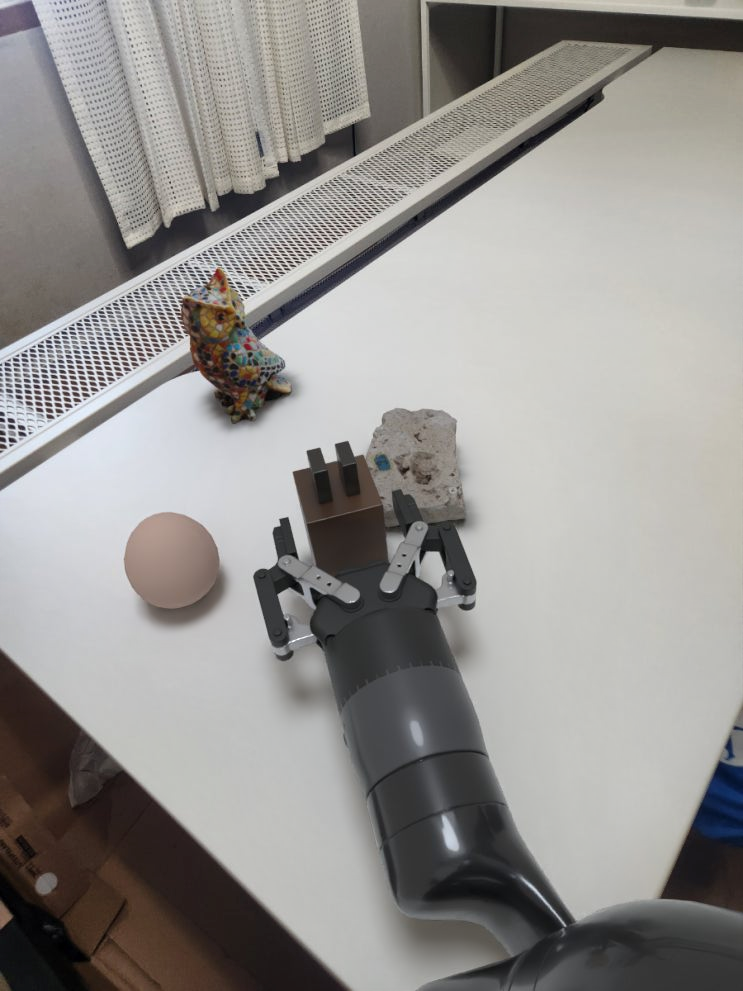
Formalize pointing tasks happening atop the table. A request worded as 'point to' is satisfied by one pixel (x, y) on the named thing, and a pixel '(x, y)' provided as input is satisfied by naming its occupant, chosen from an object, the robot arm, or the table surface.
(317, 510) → the knife block
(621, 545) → the table surface
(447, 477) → the stone
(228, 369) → the figurine
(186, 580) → the egg
